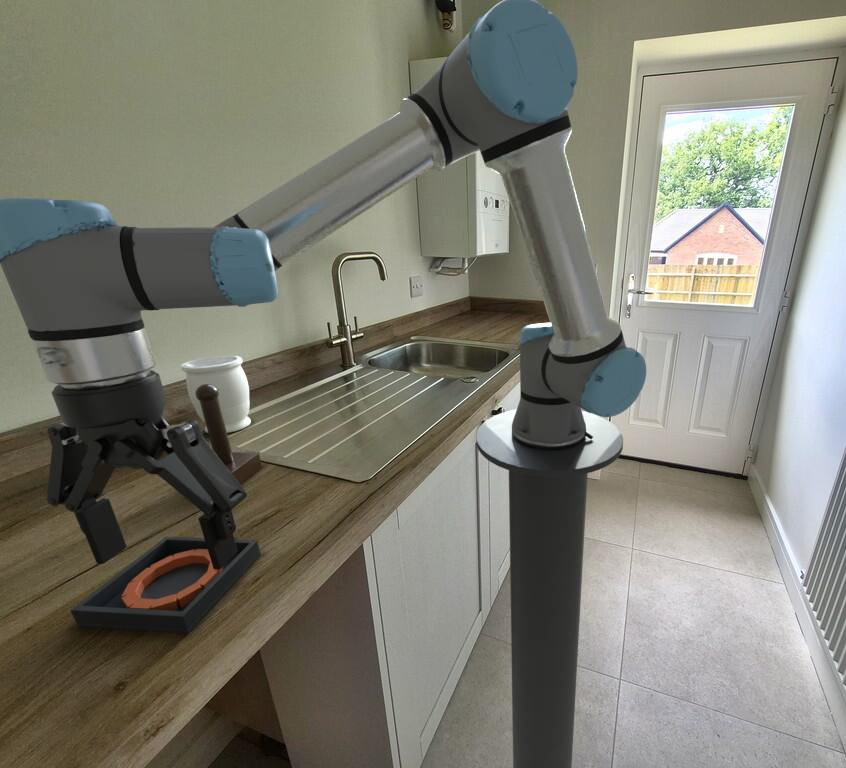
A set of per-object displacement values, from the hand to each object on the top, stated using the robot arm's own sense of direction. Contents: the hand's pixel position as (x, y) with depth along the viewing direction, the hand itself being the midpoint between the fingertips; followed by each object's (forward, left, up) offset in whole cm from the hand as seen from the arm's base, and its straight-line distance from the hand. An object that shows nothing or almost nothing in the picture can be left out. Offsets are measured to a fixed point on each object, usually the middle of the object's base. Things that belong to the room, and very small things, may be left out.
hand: (168, 557), depth 46 cm
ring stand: (+12, -23, -4) cm, 26 cm away
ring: (0, 0, -4) cm, 4 cm away
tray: (0, 0, -4) cm, 4 cm away
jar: (+27, -43, -4) cm, 51 cm away
